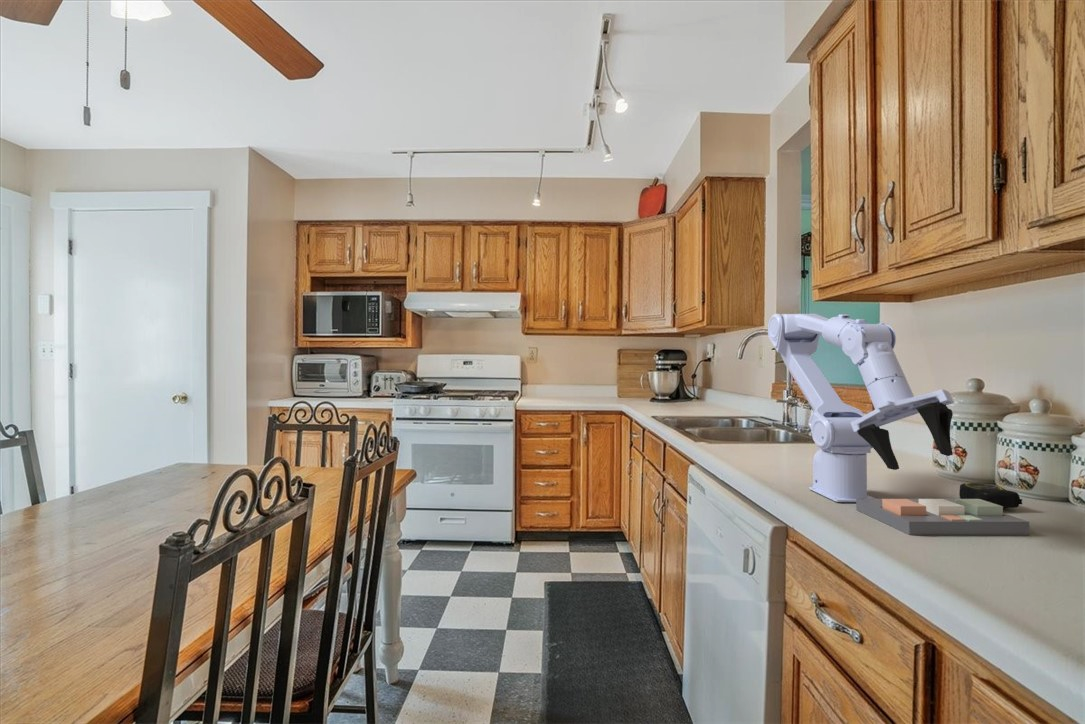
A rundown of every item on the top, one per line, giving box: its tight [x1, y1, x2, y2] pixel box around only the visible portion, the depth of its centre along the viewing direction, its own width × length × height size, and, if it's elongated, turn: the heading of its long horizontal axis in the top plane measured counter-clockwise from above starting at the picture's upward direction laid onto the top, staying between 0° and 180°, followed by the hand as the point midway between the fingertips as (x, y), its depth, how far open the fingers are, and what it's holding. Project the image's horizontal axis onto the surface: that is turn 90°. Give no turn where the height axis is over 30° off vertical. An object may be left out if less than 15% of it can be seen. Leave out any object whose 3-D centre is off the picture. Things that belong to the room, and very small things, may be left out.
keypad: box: [855, 498, 1030, 536], centre depth 76 cm, size 12×18×2 cm, turn 89°
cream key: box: [918, 498, 965, 516], centre depth 75 cm, size 4×4×2 cm
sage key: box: [954, 498, 1004, 516], centre depth 75 cm, size 4×4×2 cm
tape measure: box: [958, 482, 1023, 509], centre depth 84 cm, size 7×7×4 cm
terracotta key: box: [881, 498, 926, 516], centre depth 75 cm, size 4×4×2 cm
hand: (919, 461), depth 72 cm, fingers open, 7 cm apart
